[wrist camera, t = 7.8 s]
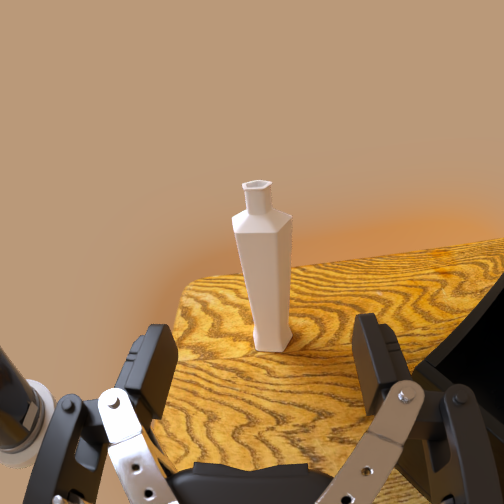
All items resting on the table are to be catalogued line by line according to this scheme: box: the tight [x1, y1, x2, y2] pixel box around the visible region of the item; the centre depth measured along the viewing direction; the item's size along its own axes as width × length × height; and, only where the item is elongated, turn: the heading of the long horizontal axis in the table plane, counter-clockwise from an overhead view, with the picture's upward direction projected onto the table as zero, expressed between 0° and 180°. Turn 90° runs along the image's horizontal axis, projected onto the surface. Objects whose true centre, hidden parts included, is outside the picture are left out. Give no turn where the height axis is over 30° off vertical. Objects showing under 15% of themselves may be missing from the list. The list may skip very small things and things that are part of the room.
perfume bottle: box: [232, 180, 293, 352], centre depth 24 cm, size 5×4×15 cm
